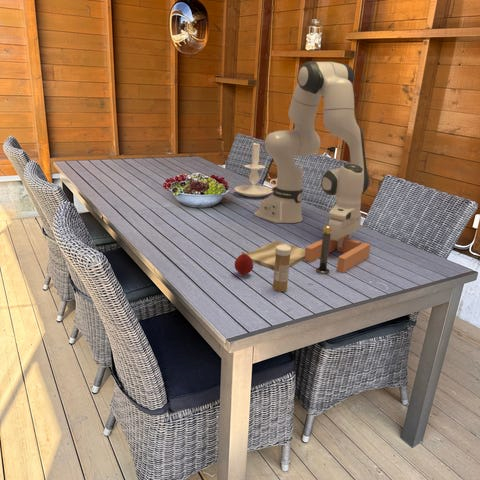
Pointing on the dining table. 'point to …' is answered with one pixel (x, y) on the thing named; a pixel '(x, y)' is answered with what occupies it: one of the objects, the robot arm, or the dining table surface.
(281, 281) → the sprinkles bottle
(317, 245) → the c link
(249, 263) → the onion
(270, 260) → the tray
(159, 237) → the dining table surface
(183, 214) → the dining table surface
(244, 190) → the candlestick
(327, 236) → the post stand
